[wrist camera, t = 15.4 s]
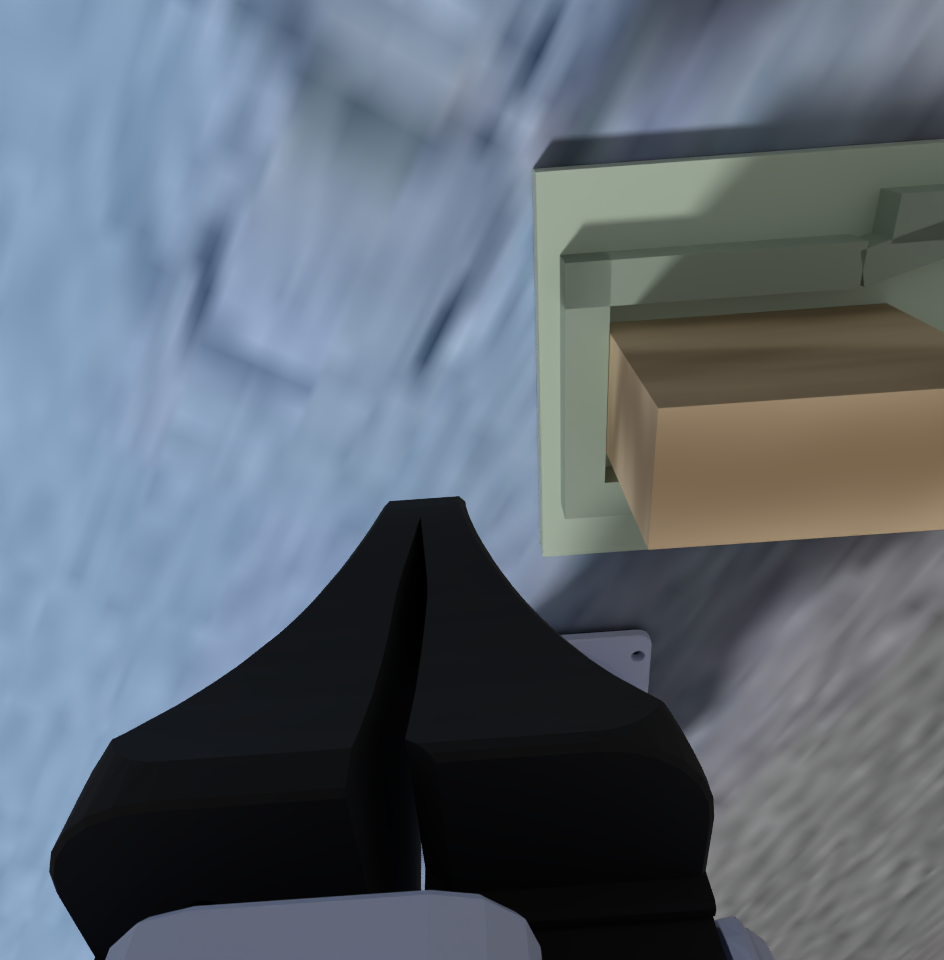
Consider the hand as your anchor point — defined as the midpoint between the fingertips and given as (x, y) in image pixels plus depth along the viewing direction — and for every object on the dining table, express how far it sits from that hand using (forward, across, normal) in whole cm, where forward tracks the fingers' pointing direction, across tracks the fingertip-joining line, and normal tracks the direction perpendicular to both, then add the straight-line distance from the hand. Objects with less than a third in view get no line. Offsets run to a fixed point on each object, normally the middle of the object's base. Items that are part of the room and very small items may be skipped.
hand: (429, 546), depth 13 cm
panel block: (+9, -9, +1) cm, 13 cm away
